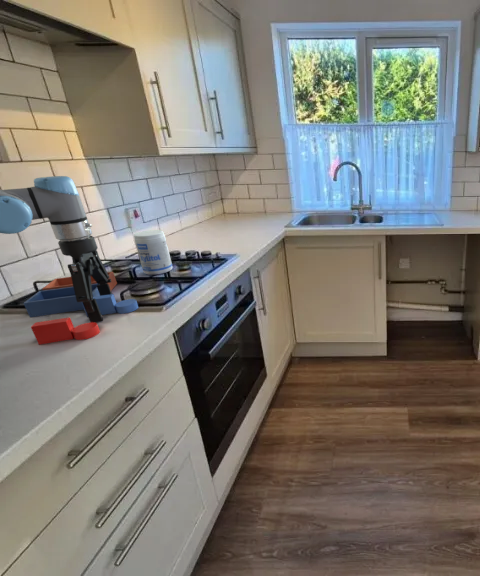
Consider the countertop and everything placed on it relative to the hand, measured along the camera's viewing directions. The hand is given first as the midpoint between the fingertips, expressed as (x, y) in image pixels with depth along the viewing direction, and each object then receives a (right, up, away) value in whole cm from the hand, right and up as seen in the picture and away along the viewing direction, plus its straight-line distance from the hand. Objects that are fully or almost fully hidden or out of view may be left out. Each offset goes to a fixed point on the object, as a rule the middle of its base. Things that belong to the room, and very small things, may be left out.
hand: (103, 312), depth 103 cm
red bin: (-18, +6, +15) cm, 24 cm away
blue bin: (-14, +2, +5) cm, 15 cm away
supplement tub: (-4, +13, +32) cm, 35 cm away
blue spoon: (+2, 0, +1) cm, 2 cm away
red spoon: (+1, -5, -12) cm, 13 cm away
